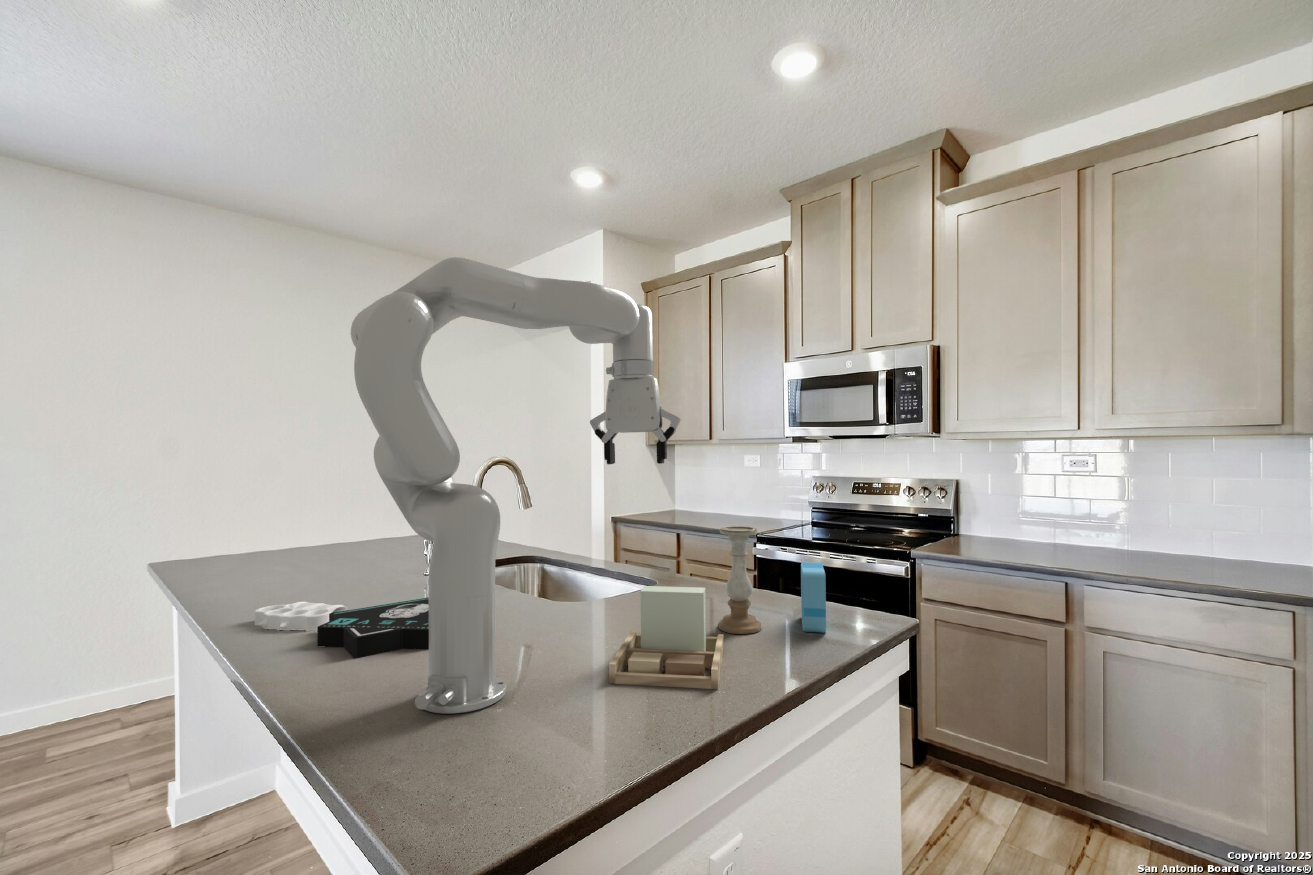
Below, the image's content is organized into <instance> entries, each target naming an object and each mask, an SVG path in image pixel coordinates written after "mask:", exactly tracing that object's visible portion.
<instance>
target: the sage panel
mask: <svg viewBox="0 0 1313 875" xmlns="http://www.w3.org/2000/svg"><path fill="white" fill-rule="evenodd" d="M706 604H707V603H706V587H700V586H699V587H696V586H695V587H694V586H691V587H690V586H661V585H659V586H658V585H657V586H656V585H655V586H654V585H644V586H643V587H642V589H641V590H640V634H641V648H642V649H665V650H687V651H706V637H707V633H706V632H707V630H706V629H707V626H706V625H707V624H706V623H707V622H706V620H707V618H706V614H707V613H706V612H707V611H706Z"/></svg>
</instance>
